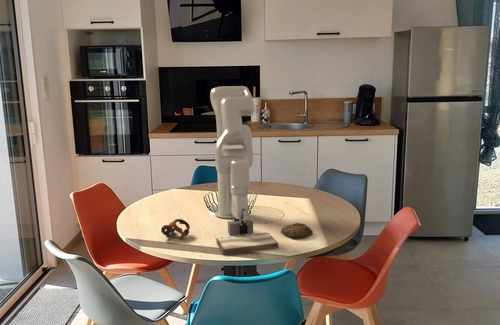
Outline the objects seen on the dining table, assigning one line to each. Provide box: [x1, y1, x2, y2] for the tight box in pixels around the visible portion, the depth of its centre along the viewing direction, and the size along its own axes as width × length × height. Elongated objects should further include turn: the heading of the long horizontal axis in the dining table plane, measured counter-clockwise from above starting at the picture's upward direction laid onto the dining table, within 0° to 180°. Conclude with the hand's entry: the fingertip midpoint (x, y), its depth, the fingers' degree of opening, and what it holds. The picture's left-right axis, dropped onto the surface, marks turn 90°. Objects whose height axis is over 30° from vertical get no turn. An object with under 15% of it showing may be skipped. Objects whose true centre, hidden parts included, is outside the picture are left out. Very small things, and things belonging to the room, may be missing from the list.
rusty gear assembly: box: [160, 218, 191, 240], centre depth 197 cm, size 12×10×8 cm
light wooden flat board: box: [215, 231, 279, 256], centre depth 188 cm, size 12×22×2 cm, turn 106°
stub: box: [213, 219, 267, 240], centre depth 196 cm, size 6×21×7 cm, turn 106°
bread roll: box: [280, 222, 313, 240], centre depth 200 cm, size 13×12×5 cm
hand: (240, 230), depth 196 cm, fingers open, 8 cm apart
